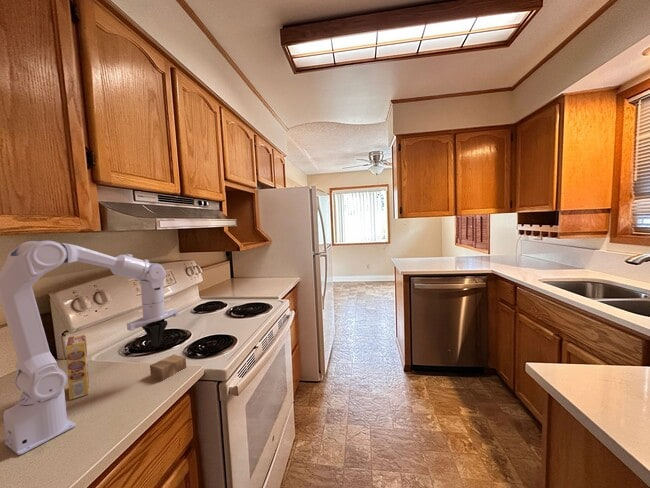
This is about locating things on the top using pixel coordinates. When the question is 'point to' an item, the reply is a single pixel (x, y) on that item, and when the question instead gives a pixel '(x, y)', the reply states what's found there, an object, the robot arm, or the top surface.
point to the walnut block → (167, 367)
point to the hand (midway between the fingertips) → (156, 345)
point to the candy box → (77, 366)
